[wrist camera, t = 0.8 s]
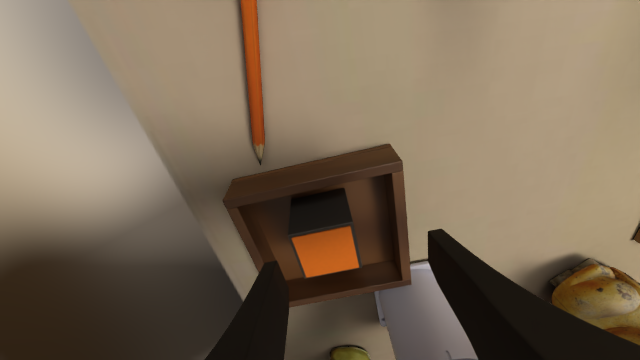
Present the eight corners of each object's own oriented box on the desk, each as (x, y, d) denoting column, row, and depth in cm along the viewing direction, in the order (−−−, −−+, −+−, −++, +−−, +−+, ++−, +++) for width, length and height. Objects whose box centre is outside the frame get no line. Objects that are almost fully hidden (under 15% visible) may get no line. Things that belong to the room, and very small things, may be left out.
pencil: (243, -254, 11) (238, -277, 10) (267, 163, 20) (265, 168, 19) (221, -257, 10) (214, -280, 10) (255, 163, 20) (253, 168, 19)
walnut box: (401, 259, 26) (411, 284, 23) (280, 283, 27) (277, 309, 24) (389, 143, 20) (402, 160, 17) (232, 179, 21) (221, 200, 18)
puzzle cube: (353, 228, 23) (363, 269, 19) (304, 239, 23) (304, 280, 20) (344, 187, 21) (353, 222, 17) (290, 198, 21) (287, 236, 17)
